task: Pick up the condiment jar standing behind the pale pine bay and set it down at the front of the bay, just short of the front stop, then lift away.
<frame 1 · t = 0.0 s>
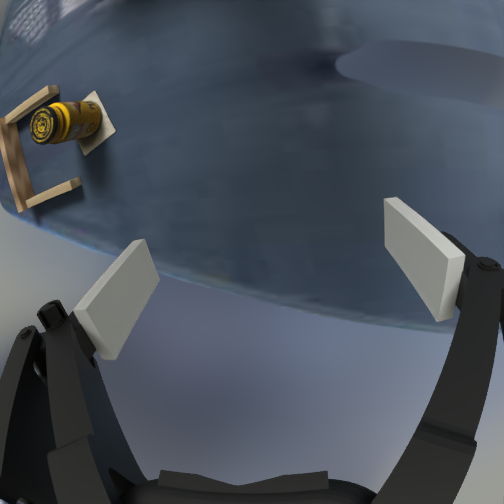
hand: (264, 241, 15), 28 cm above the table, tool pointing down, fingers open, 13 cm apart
bay: (42, 147, 40), on the table
condiment: (90, 123, 38), on the table
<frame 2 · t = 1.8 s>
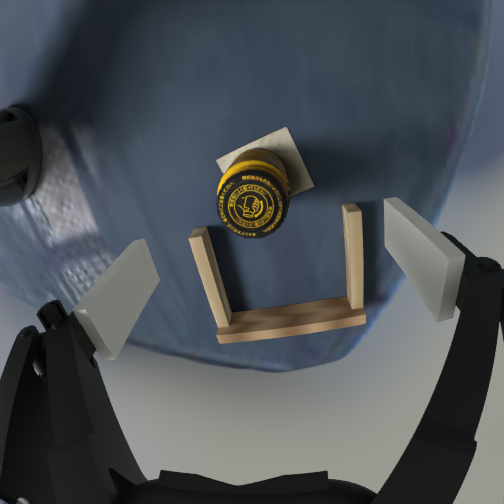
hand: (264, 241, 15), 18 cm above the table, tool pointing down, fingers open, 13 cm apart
bay: (282, 267, 36), on the table
condiment: (265, 171, 31), on the table
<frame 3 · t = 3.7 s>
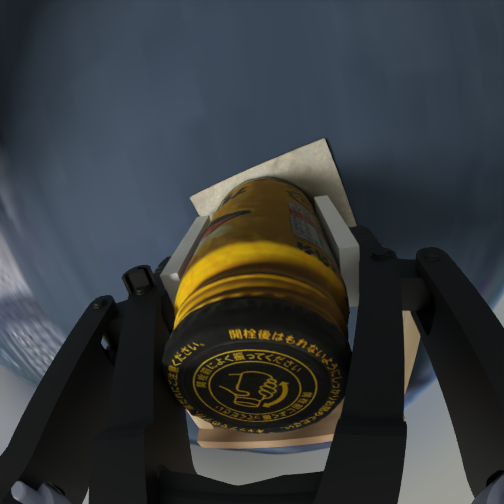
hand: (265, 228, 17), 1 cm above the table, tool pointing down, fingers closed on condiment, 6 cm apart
bay: (291, 359, 23), on the table
condiment: (280, 220, 18), on the table, touching gripper
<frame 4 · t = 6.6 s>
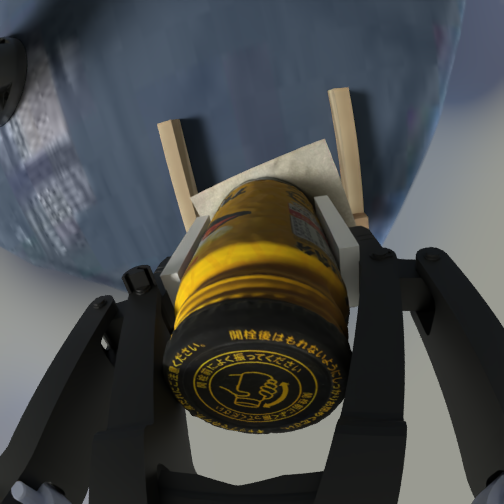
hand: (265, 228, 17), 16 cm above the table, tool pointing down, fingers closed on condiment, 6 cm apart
bay: (265, 164, 30), on the table
condiment: (280, 220, 18), point 15 cm above the table, touching gripper
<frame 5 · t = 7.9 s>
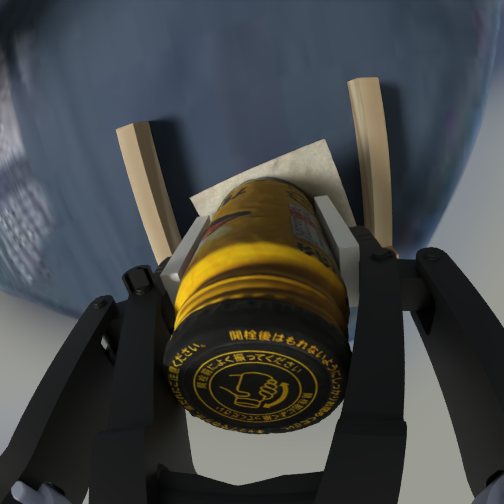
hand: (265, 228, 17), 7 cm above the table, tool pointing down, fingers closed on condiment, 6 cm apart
bay: (262, 180, 23), on the table
condiment: (280, 220, 18), point 6 cm above the table, touching gripper
when the fingers open (2 cm above the table, at t = 9.2 s): condiment drops 2 cm, on the table.
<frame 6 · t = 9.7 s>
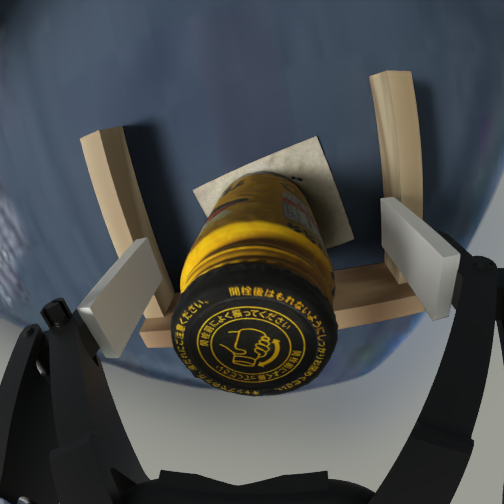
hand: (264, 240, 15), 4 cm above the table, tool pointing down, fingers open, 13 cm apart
bay: (262, 199, 18), on the table
condiment: (276, 211, 19), on the table
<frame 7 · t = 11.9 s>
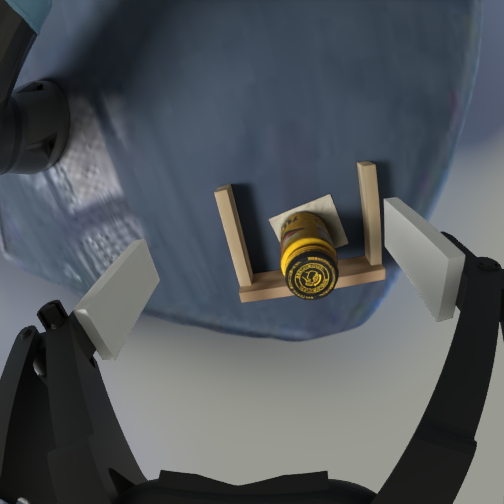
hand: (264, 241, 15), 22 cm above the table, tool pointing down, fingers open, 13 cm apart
bay: (303, 224, 37), on the table
condiment: (309, 230, 38), on the table
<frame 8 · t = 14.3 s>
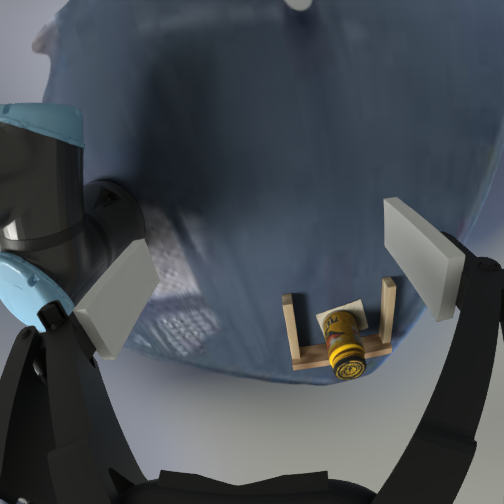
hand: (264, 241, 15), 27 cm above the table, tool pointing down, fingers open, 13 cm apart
bay: (339, 317, 50), on the table
condiment: (342, 320, 51), on the table
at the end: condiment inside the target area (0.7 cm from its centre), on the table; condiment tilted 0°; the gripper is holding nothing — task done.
